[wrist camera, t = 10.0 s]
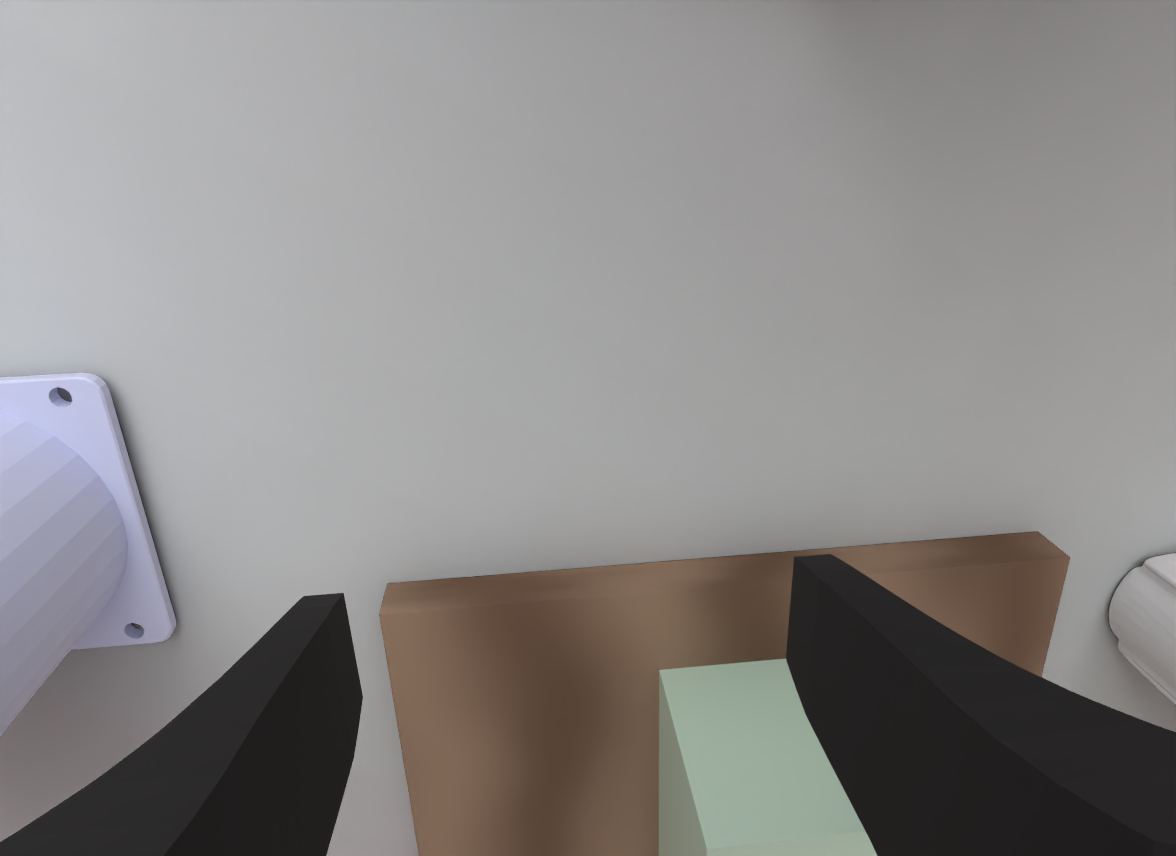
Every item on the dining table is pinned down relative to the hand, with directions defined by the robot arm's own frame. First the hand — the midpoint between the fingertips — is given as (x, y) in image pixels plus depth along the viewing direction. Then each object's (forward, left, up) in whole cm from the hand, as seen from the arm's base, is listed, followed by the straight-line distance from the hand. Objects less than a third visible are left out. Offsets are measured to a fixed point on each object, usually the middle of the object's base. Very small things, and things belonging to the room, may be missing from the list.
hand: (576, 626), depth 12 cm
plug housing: (+5, -12, -8) cm, 15 cm away
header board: (+5, -12, -9) cm, 16 cm away
